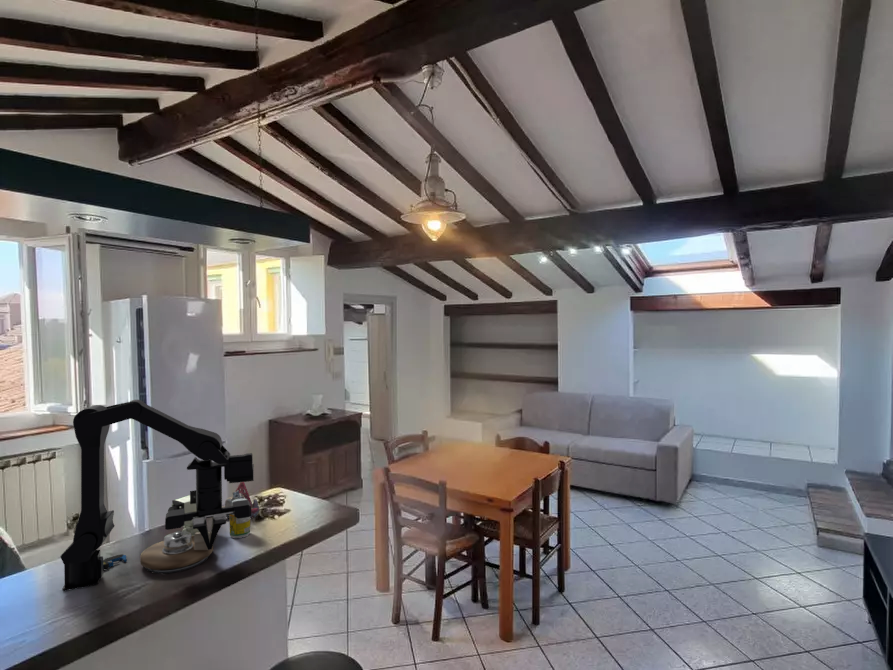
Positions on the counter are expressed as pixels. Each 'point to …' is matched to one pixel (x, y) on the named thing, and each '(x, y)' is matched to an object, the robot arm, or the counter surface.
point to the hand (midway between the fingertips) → (209, 548)
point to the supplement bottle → (239, 525)
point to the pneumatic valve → (185, 504)
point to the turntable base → (177, 568)
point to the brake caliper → (241, 495)
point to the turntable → (160, 561)
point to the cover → (177, 543)
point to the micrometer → (113, 560)
